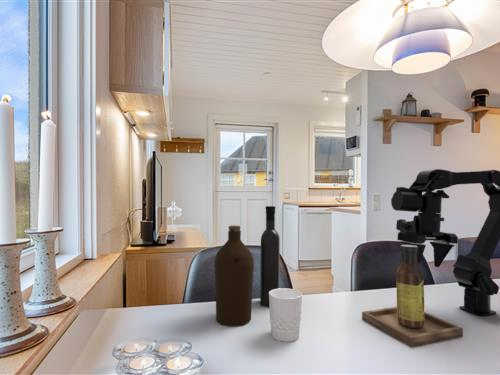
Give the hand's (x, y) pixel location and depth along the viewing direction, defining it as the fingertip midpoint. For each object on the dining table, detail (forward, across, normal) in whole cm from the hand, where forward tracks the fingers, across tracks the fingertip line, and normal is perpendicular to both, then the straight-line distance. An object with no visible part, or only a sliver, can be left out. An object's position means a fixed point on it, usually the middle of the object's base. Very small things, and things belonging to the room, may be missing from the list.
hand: (426, 267), depth 87 cm
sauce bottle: (+13, +12, +5) cm, 18 cm away
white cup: (+16, +43, -5) cm, 47 cm away
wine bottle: (+16, +36, -25) cm, 47 cm away
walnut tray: (+14, +12, +5) cm, 19 cm away
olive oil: (+17, +51, -18) cm, 57 cm away
